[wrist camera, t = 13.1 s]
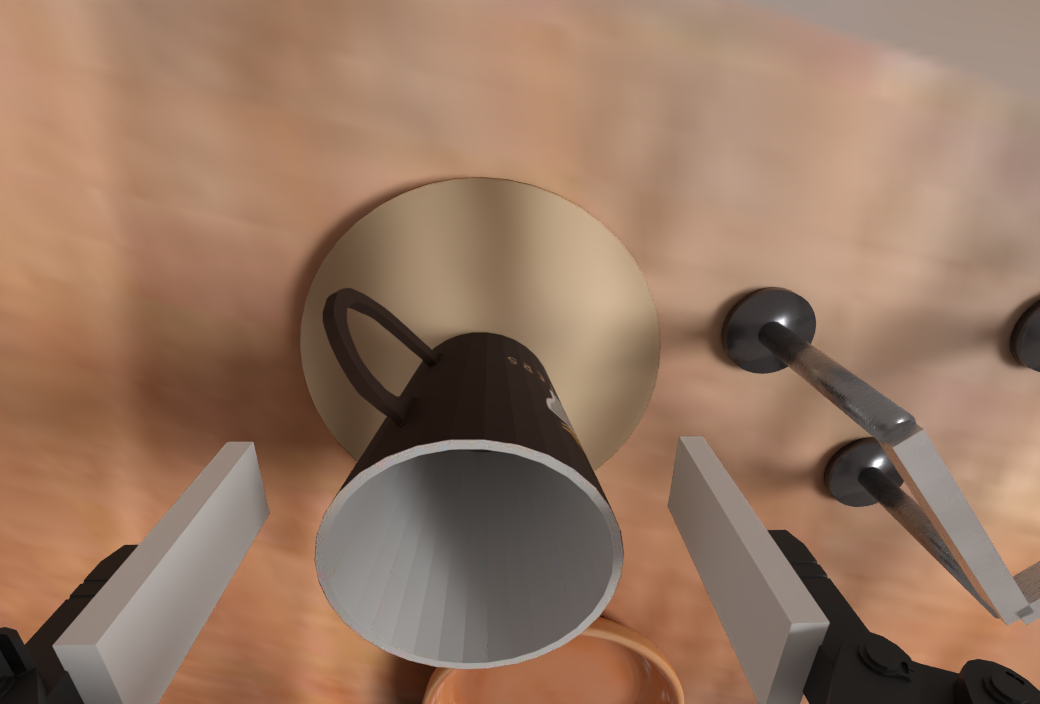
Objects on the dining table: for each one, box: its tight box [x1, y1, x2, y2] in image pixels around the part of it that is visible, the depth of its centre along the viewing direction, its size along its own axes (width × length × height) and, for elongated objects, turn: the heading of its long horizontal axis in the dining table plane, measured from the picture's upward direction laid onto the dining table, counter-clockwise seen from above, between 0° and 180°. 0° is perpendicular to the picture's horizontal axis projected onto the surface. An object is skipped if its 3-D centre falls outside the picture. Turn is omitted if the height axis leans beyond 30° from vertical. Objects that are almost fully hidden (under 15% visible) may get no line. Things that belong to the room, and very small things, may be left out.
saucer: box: [422, 617, 684, 704], centre depth 32 cm, size 16×16×3 cm
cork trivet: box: [300, 177, 660, 471], centre depth 23 cm, size 16×16×1 cm
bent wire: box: [722, 287, 1040, 625], centre depth 21 cm, size 18×12×9 cm, turn 89°
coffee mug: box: [315, 288, 624, 669], centre depth 18 cm, size 12×9×10 cm
